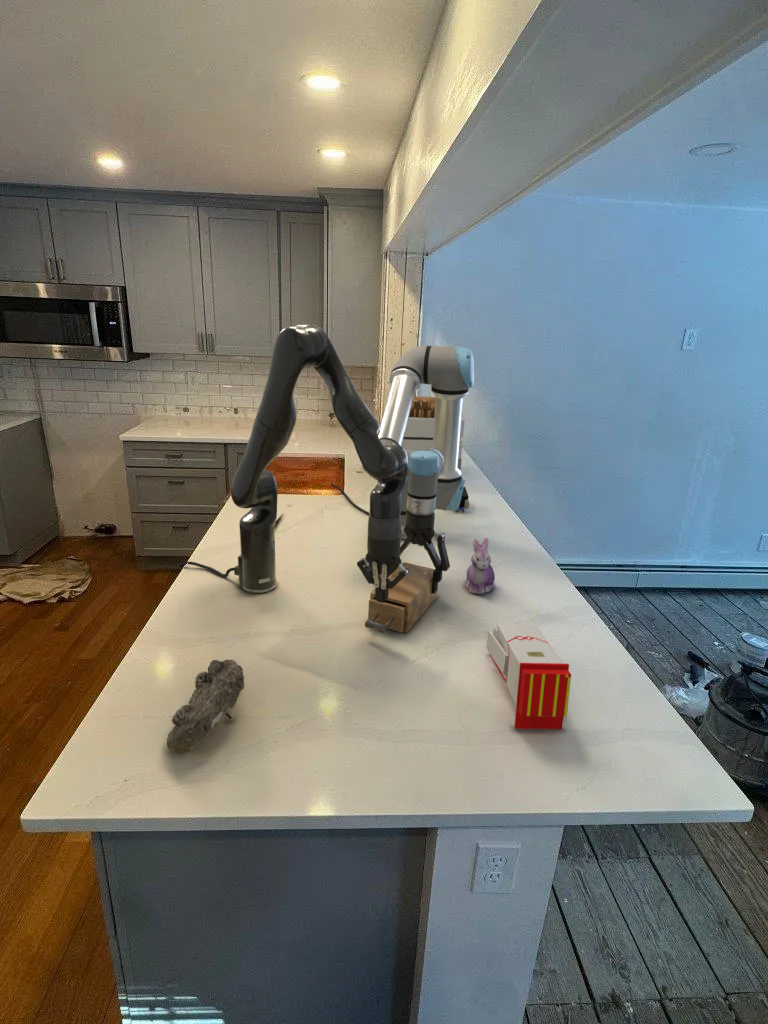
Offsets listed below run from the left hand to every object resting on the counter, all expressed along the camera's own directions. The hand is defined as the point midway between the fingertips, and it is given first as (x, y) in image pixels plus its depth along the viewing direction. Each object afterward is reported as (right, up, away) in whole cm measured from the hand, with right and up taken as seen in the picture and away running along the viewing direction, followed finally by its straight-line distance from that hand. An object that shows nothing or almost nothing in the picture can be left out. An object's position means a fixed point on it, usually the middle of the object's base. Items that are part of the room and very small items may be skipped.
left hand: (381, 600), depth 134 cm
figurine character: (+31, +23, +95) cm, 102 cm away
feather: (-37, +19, +76) cm, 87 cm away
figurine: (+28, -1, +30) cm, 41 cm away
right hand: (+9, +1, +22) cm, 23 cm away
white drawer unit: (+18, +40, +141) cm, 148 cm away
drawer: (+4, -5, +11) cm, 13 cm away
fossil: (-32, -18, -26) cm, 45 cm away
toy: (+30, -16, -12) cm, 36 cm away
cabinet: (+6, -5, +17) cm, 18 cm away
